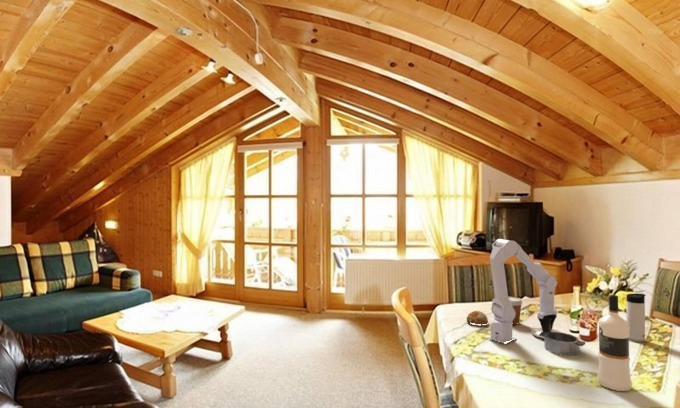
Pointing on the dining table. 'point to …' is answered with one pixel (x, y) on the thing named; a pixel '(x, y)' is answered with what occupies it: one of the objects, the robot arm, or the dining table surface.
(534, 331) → the lid
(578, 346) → the pot
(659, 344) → the dining table surface
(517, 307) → the disposable coffee cup
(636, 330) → the travel mug
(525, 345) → the dining table surface
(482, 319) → the bread roll
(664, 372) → the dining table surface
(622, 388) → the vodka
